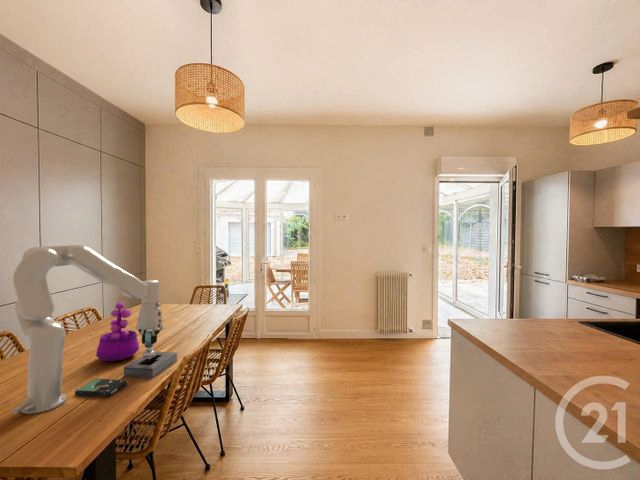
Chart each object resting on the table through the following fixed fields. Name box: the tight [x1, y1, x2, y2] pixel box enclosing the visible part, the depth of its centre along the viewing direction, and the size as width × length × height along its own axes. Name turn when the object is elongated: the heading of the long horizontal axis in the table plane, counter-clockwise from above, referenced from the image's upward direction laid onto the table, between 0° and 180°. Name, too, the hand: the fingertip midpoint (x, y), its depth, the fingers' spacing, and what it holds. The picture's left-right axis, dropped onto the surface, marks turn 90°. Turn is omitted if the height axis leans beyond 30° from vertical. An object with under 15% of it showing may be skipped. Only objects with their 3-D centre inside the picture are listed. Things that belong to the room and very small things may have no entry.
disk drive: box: [74, 378, 128, 399], centre depth 121 cm, size 10×3×15 cm
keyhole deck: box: [123, 351, 178, 379], centre depth 143 cm, size 20×14×4 cm
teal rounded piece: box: [142, 330, 156, 358], centre depth 140 cm, size 5×5×12 cm
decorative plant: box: [95, 301, 140, 362], centre depth 154 cm, size 19×18×30 cm
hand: (149, 342), depth 140 cm, fingers closed on teal rounded piece, 4 cm apart
